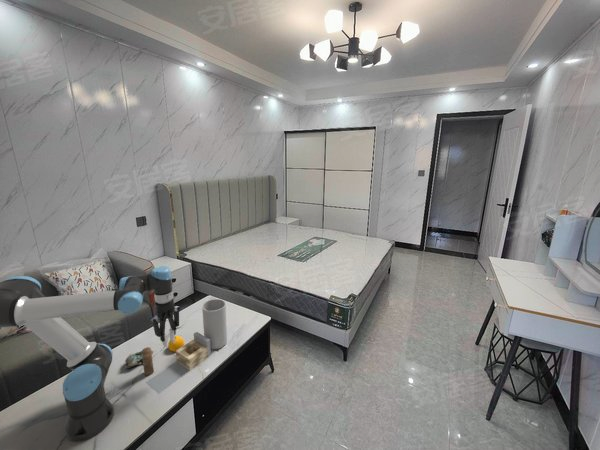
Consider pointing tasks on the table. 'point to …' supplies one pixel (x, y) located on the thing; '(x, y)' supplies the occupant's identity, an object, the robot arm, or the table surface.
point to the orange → (176, 344)
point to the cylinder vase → (215, 322)
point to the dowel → (147, 361)
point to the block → (191, 354)
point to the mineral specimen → (134, 359)
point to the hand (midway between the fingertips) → (169, 343)
